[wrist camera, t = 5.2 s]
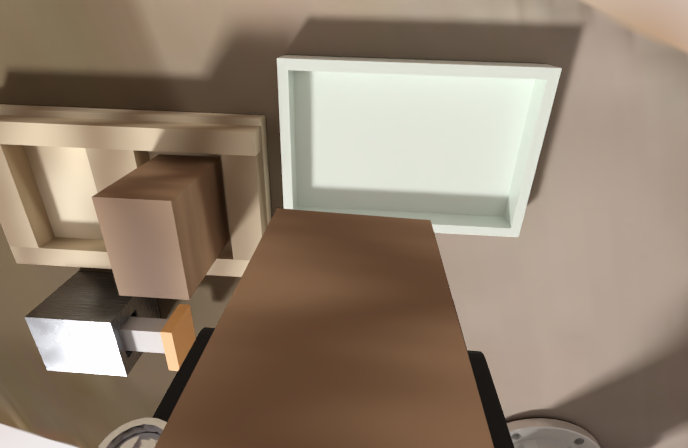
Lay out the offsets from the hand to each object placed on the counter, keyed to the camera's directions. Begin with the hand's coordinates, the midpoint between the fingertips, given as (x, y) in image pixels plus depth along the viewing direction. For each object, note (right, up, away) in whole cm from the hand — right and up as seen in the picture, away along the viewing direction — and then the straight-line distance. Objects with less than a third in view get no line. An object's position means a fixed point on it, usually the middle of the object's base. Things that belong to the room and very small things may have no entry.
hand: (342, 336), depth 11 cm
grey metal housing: (-18, -3, +23) cm, 29 cm away
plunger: (-14, -5, +20) cm, 25 cm away
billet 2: (0, +1, +1) cm, 1 cm away
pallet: (-14, +5, +18) cm, 23 cm away
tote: (+4, +8, +15) cm, 18 cm away
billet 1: (-10, +5, +16) cm, 20 cm away
